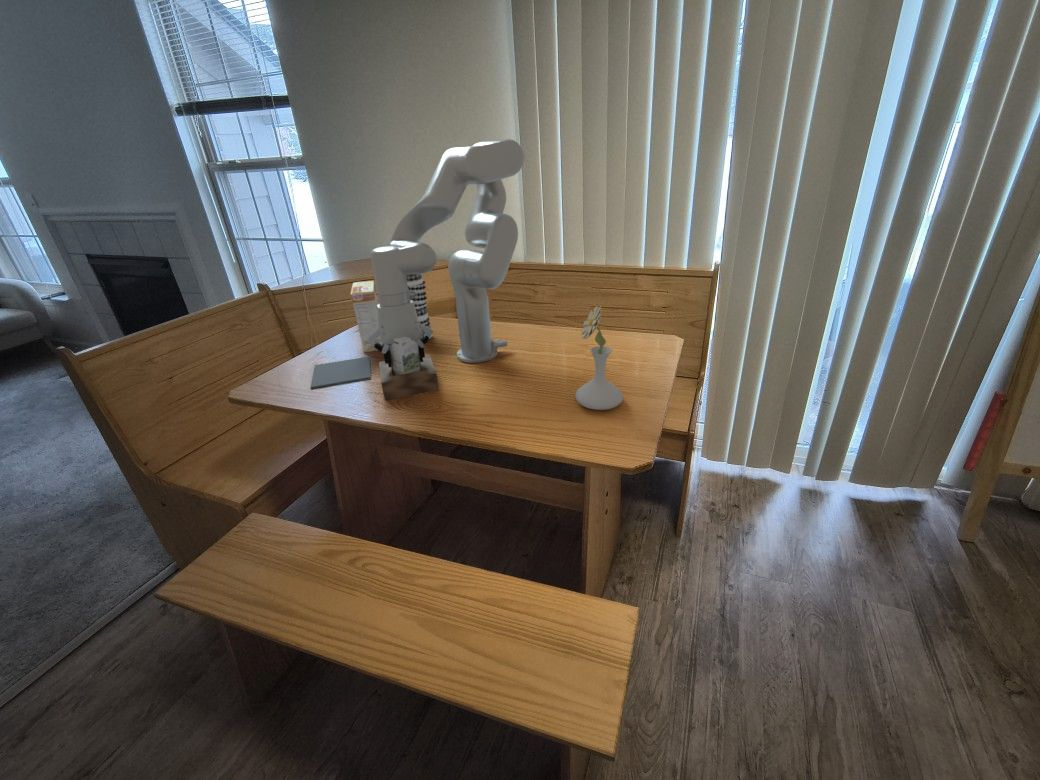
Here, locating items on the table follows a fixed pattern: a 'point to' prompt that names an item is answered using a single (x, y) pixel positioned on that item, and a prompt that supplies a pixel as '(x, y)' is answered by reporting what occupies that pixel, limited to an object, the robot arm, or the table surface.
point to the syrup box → (404, 356)
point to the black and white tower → (419, 299)
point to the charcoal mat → (341, 372)
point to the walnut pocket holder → (408, 380)
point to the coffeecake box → (366, 312)
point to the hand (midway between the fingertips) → (405, 362)
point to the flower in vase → (598, 371)
